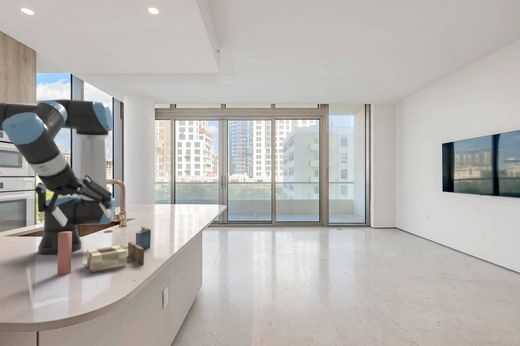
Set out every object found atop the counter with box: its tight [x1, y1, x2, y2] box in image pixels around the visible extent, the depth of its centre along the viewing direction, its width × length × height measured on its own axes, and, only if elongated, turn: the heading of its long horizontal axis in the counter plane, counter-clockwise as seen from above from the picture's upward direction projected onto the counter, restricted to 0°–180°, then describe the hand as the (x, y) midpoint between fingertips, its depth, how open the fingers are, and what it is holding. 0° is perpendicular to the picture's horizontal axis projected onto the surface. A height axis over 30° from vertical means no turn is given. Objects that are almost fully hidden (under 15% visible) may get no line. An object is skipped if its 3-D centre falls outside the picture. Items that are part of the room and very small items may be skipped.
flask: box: [135, 226, 152, 251], centre depth 115 cm, size 9×3×11 cm, turn 172°
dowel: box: [56, 231, 72, 276], centre depth 85 cm, size 4×4×14 cm
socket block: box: [86, 245, 128, 272], centre depth 93 cm, size 10×10×5 cm
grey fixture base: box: [82, 241, 145, 276], centre depth 95 cm, size 14×16×6 cm
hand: (87, 219), depth 87 cm, fingers open, 13 cm apart
